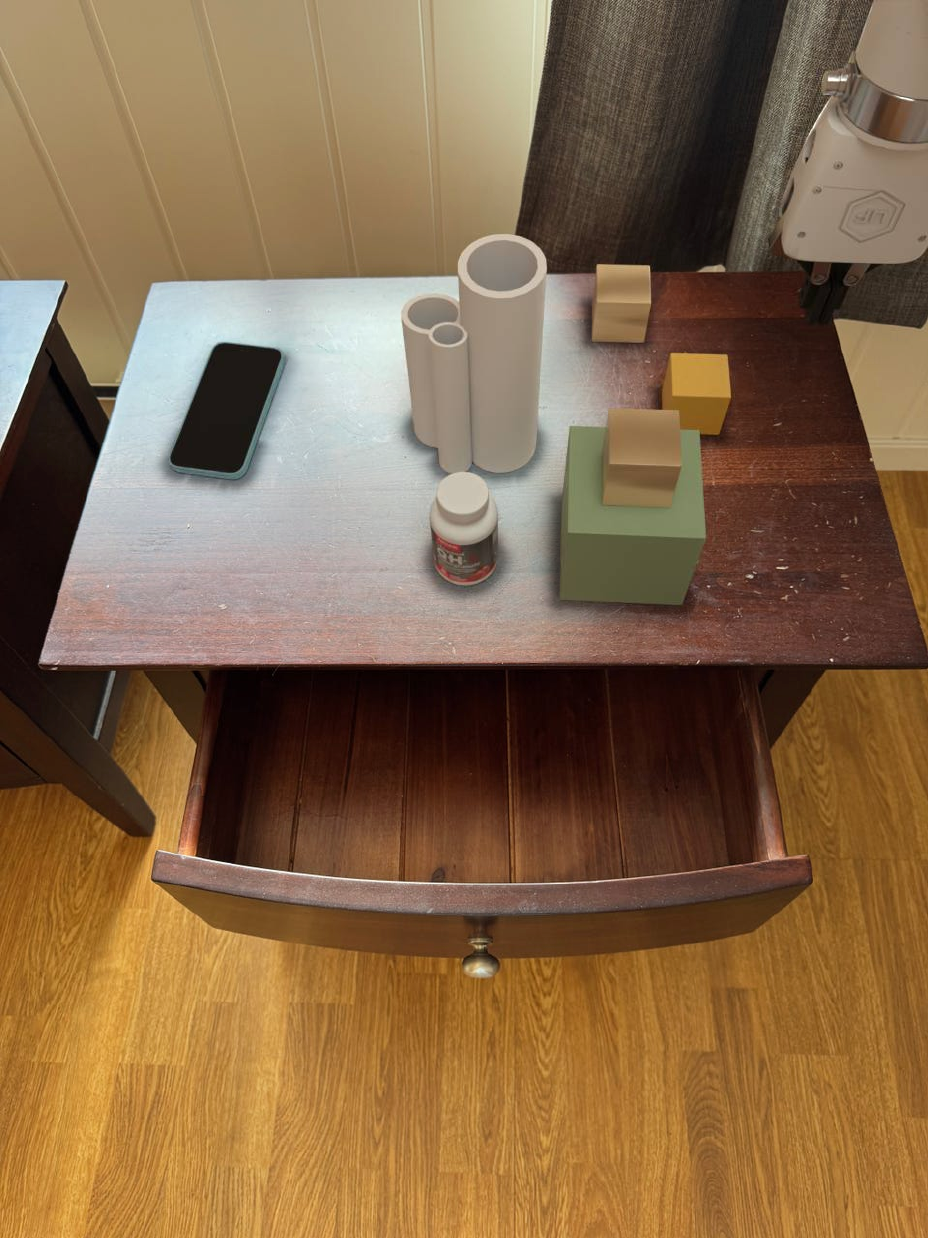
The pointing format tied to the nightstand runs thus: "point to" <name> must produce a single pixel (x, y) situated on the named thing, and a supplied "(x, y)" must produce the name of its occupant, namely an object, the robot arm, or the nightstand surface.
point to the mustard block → (697, 390)
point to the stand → (628, 530)
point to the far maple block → (621, 303)
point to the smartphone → (227, 411)
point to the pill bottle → (464, 529)
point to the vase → (480, 357)
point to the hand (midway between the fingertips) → (814, 312)
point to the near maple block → (641, 457)
